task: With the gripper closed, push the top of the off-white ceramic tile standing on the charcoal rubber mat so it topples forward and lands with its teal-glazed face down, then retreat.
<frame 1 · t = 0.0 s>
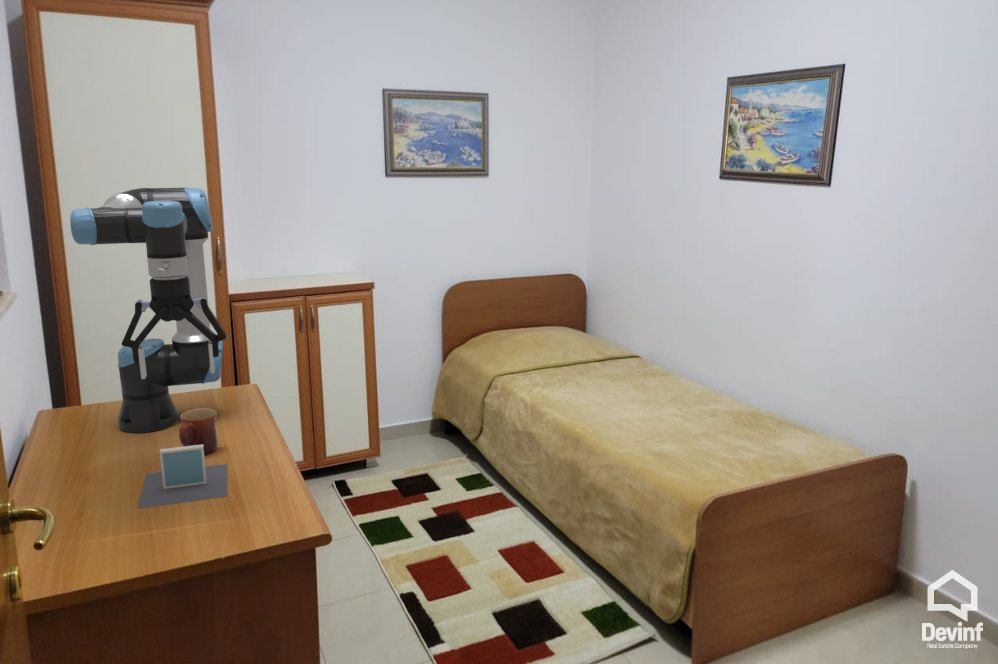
hand: (178, 374, 156), 28 cm above the dresser top, fingers open, 13 cm apart
mat: (185, 486, 166), on the dresser top
mug: (198, 455, 183), on the dresser top
tile: (185, 484, 166), resting on mat
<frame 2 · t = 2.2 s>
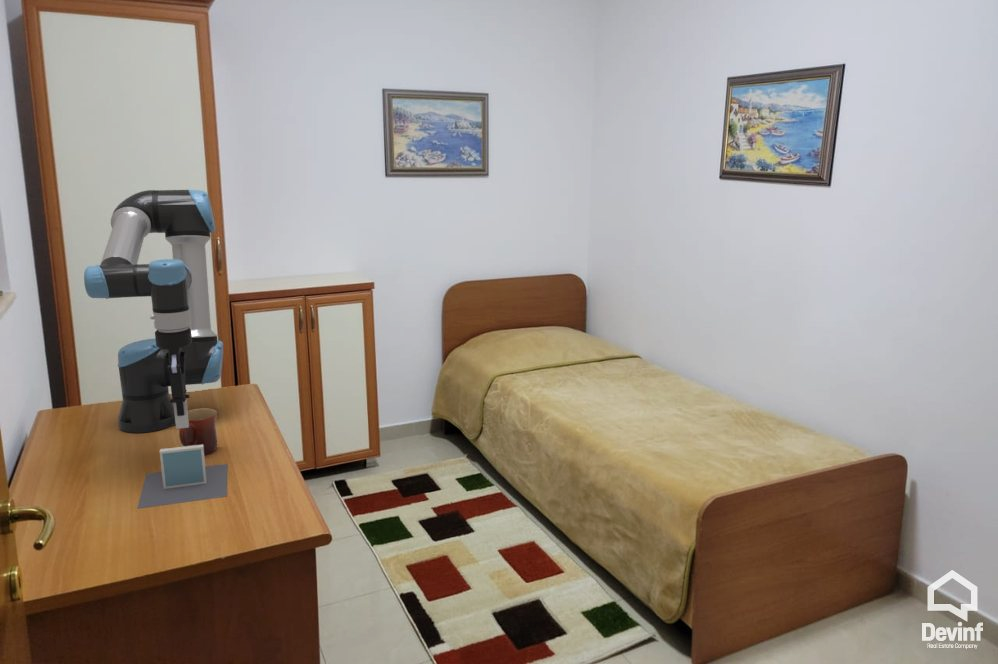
hand: (182, 426, 169), 12 cm above the dresser top, fingers closed
nothing on the dresser top moved.
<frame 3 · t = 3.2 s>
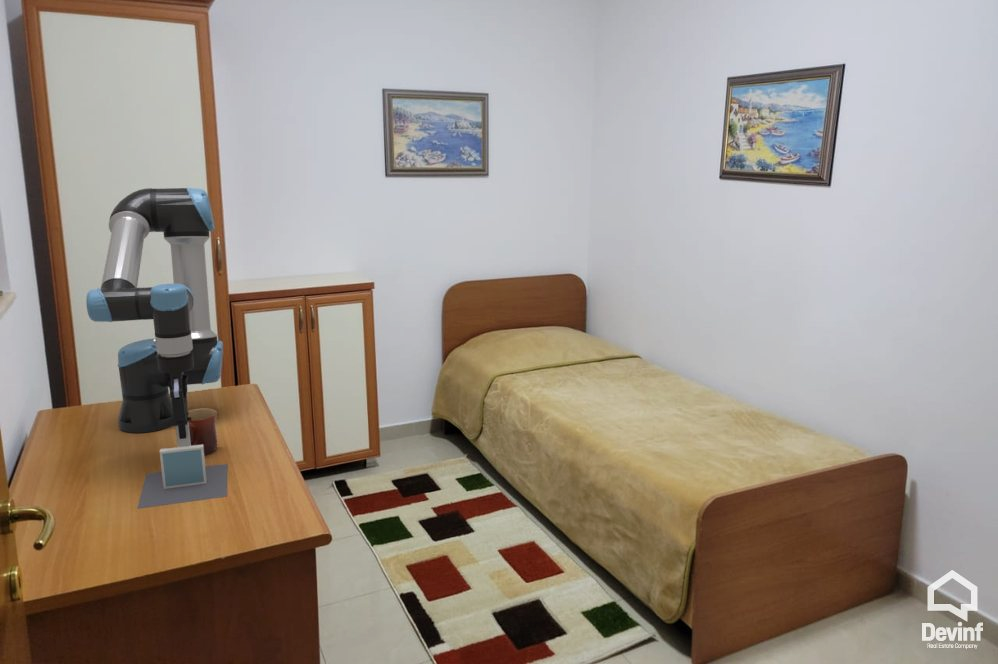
hand: (184, 449, 170), 7 cm above the dresser top, fingers closed
nothing on the dresser top moved.
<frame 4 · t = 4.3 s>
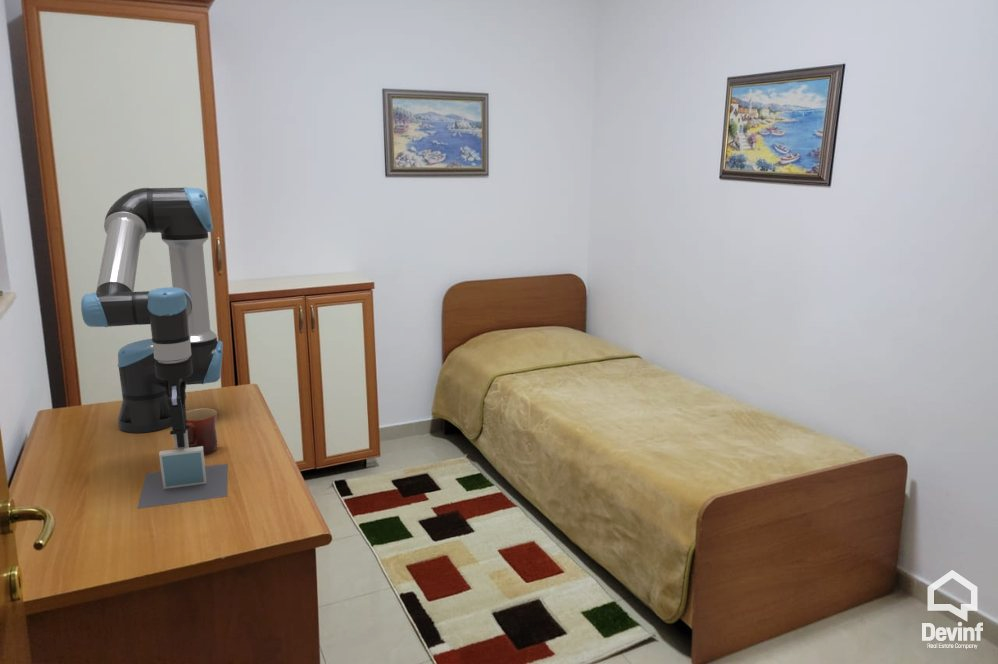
hand: (183, 458, 165), 7 cm above the dresser top, fingers closed
tile: (185, 484, 166), point 1 cm above the dresser top, tilted 9°, touching mat
everything else where it was.
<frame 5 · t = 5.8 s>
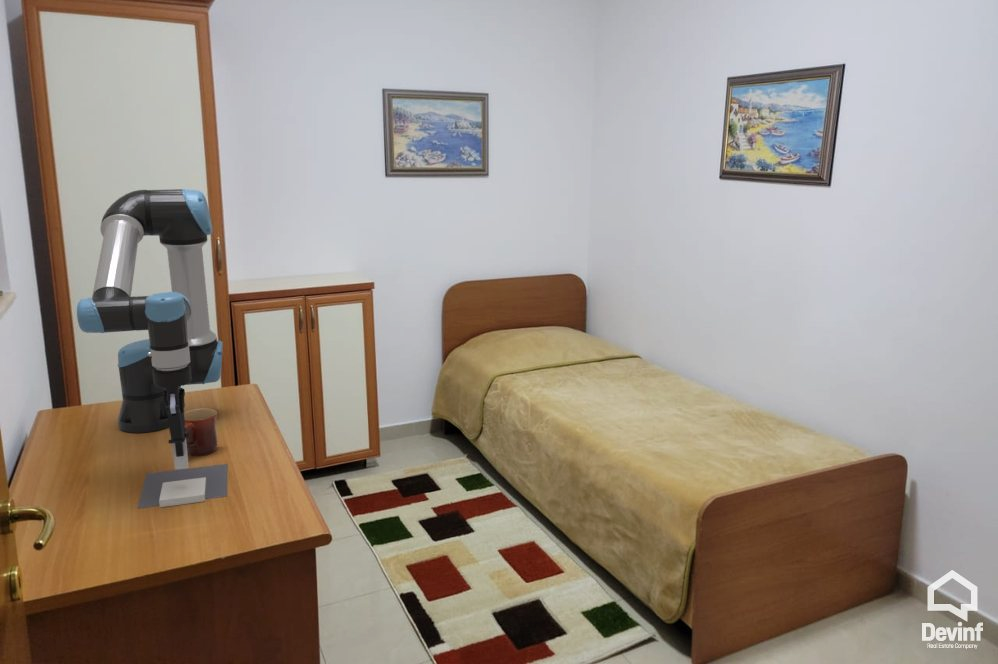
hand: (181, 467, 161), 6 cm above the dresser top, fingers closed
tile: (184, 483, 165), point 1 cm above the dresser top, tilted 90°, touching mat
everything else where it was.
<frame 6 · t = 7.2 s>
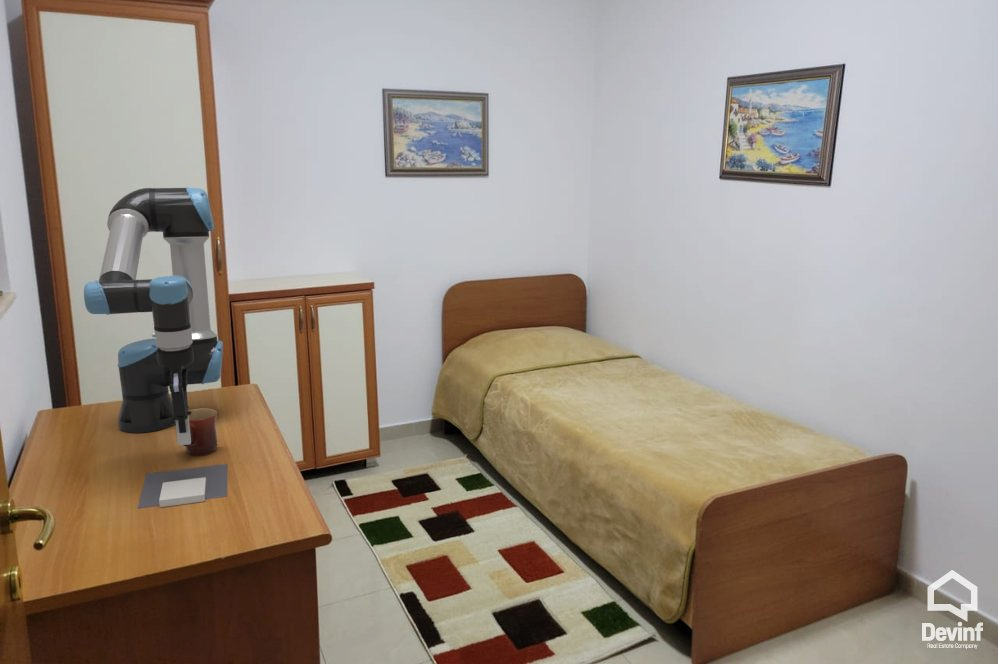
hand: (184, 443, 168), 9 cm above the dresser top, fingers closed
nothing on the dresser top moved.
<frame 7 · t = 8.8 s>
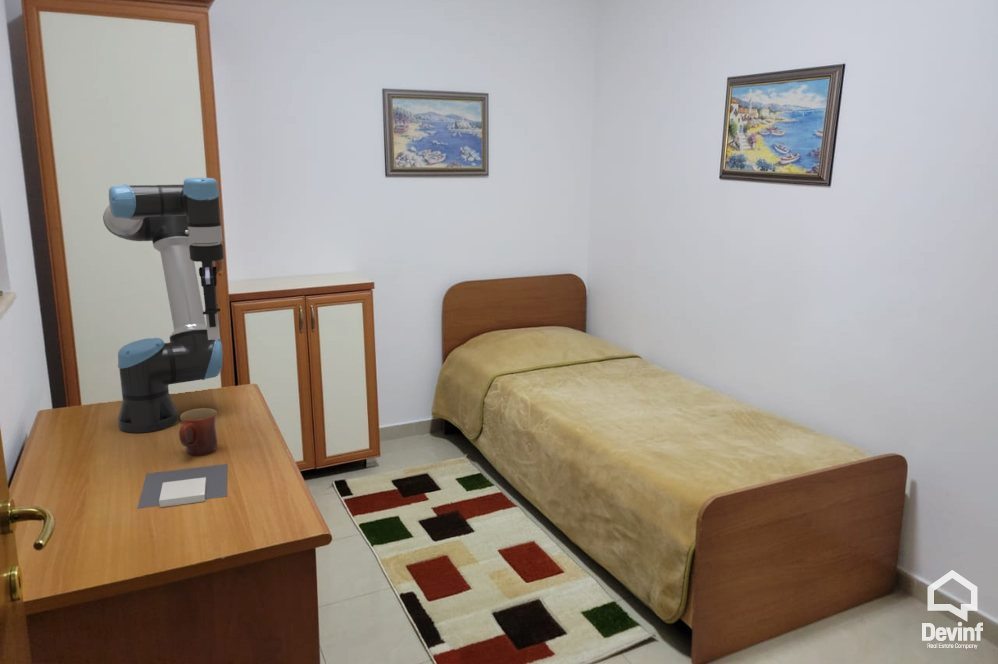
hand: (214, 338, 180), 29 cm above the dresser top, fingers closed
nothing on the dresser top moved.
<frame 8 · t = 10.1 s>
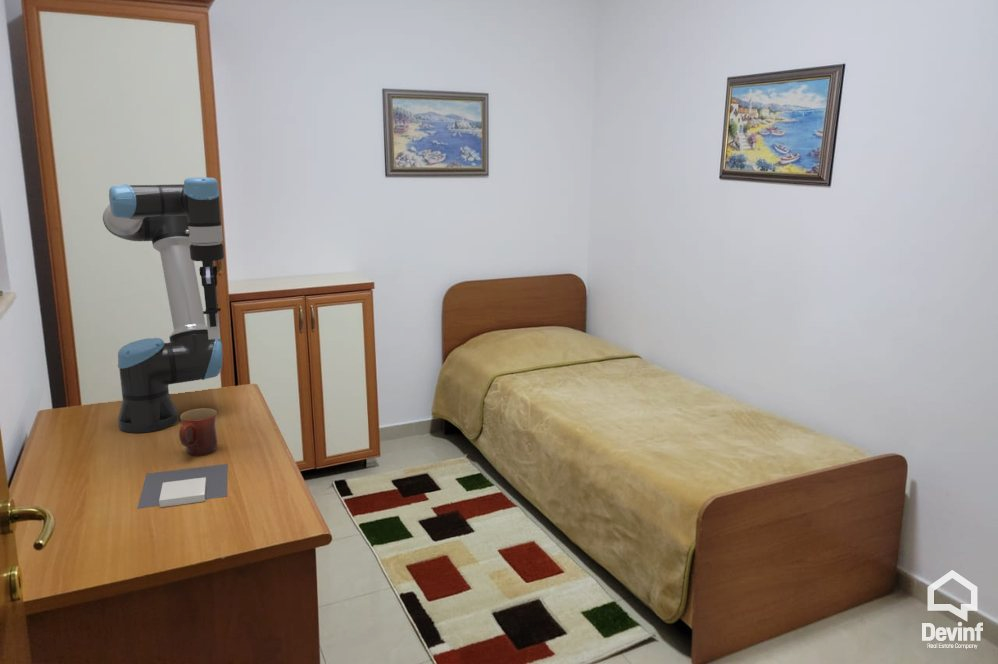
hand: (214, 338, 180), 29 cm above the dresser top, fingers closed
nothing on the dresser top moved.
at the end: tile tilted 90°; tile inside the target area on the mat (2.5 cm from its centre), point 1.2 cm above the mat's base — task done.
